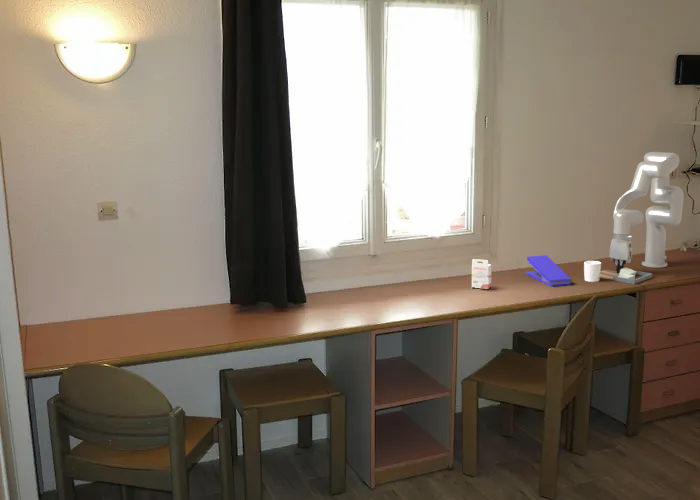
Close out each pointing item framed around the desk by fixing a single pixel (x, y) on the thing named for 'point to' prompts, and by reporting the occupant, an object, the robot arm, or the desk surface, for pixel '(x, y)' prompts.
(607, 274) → the walnut board
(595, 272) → the white cup
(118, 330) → the desk surface
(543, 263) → the stapler
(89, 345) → the desk surface
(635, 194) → the robot arm
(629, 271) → the sage tile
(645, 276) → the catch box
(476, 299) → the desk surface
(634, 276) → the sage tile
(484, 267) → the ink cartridge box
